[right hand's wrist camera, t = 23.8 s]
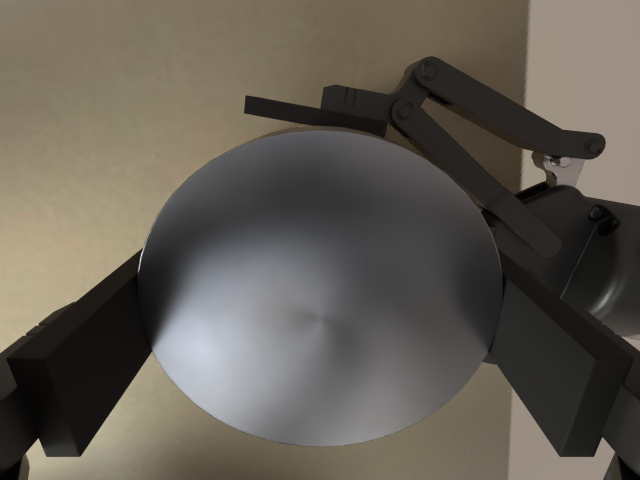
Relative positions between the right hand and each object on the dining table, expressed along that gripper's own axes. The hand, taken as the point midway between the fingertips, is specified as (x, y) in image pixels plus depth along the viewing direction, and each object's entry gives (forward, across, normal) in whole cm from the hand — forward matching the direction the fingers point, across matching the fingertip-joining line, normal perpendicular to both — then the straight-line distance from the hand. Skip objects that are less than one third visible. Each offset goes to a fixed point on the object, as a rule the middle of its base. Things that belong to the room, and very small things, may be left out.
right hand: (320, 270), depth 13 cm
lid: (-3, 0, 0) cm, 3 cm away
